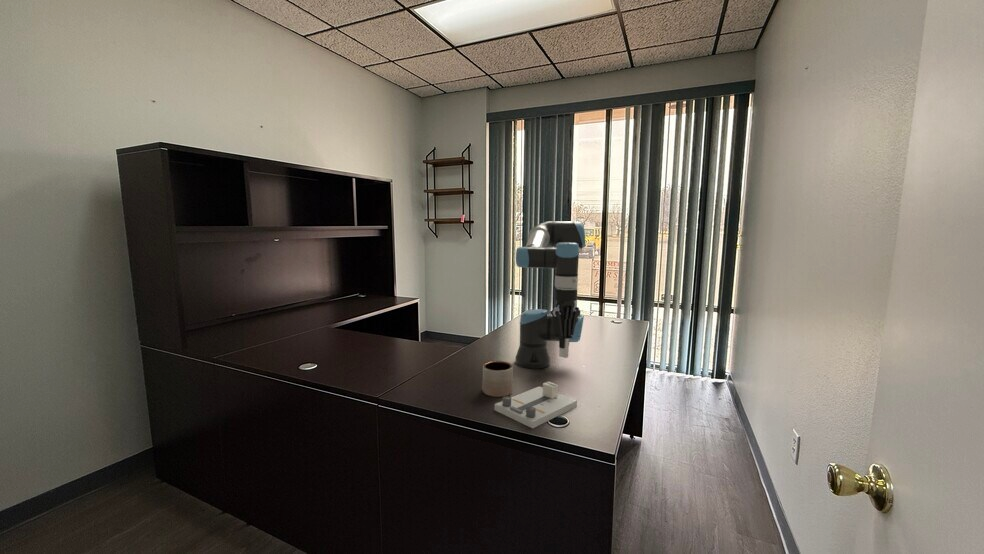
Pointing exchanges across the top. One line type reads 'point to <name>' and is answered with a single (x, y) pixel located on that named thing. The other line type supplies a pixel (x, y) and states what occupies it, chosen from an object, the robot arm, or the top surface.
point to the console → (534, 407)
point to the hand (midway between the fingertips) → (563, 356)
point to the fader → (550, 390)
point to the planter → (497, 378)
